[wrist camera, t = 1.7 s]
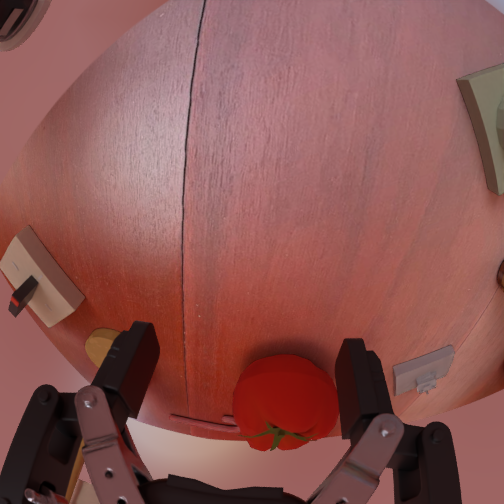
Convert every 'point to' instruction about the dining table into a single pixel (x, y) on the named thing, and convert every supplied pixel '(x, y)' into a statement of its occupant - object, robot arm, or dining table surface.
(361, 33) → the dining table surface
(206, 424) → the candy cane
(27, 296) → the dimmer knob
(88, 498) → the lamp
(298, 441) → the tomato
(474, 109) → the switch block
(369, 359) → the robot arm
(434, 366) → the grey terrain tile
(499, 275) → the sauce bottle
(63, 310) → the dimmer panel
